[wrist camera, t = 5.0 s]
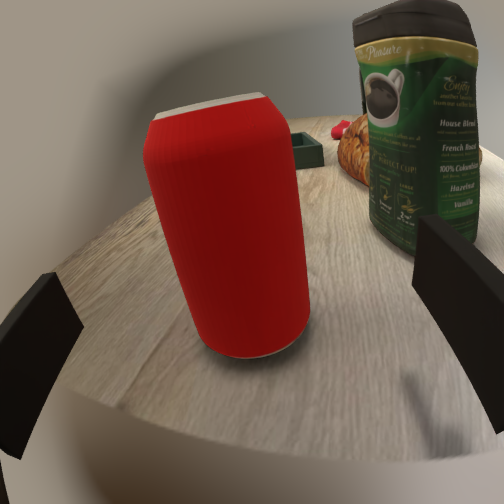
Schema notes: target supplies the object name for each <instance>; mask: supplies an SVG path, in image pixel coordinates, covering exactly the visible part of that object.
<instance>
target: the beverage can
mask: <svg viewBox="0 0 504 504" xmlns="http://www.w3.org/2000/svg"><path fill="white" fill-rule="evenodd" d="M143 161H144V165H145V169H146V173H147V177H148V180H149V184H150V187H151V191H152V195H153V198H154V202H155V205H156V208H157V212H158V215H159V219H160V222H161V225H162V228H163V232H164V235H165V238H166V241H167V244H168V247H169V251H170V254H171V257H172V260H173V263H174V266H175V269H176V272H177V275H178V278H179V281H180V283H181V286H182V289H183V292H184V295H185V298H186V301H187V303H188V306H189V309H190V312H191V314H192V317H193V320H194V323H195V325H196V328H197V331H198V333H199V335H200V337H201V339H202V340H203V341H204V343H205V344H206V345H207V346H209V347H210V348H211V349H213V350H214V351H216V352H218V353H221V354H223V355H226V356H230V357H234V358H242V359H252V358H260V357H265V356H269V355H272V354H274V353H277V352H279V351H281V350H283V349H285V348H286V347H288V346H289V345H291V344H292V343H293V342H294V341H296V340H297V339H298V338H299V336H300V335H301V334H302V332H303V331H304V329H305V327H306V325H307V322H308V319H309V315H310V301H309V288H308V277H307V266H306V256H305V246H304V236H303V227H302V218H301V209H300V201H299V192H298V184H297V177H296V169H295V162H294V154H293V147H292V140H291V133H290V129H289V126H288V124H287V122H286V120H285V118H284V117H283V115H282V114H281V113H280V111H279V110H278V109H277V108H276V106H275V105H274V104H273V103H272V102H271V100H270V99H269V98H268V97H267V96H264V95H262V94H261V93H260V92H257V93H250V94H244V95H238V96H232V97H227V98H222V99H216V100H211V101H207V102H202V103H198V104H193V105H189V106H185V107H181V108H177V109H173V110H169V111H165V112H162V113H158V114H156V117H155V118H154V120H152V121H151V122H150V126H149V130H148V133H147V137H146V140H145V144H144V149H143Z"/></svg>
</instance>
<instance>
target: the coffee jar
mask: <svg viewBox="0 0 504 504" xmlns="http://www.w3.org/2000/svg"><path fill="white" fill-rule="evenodd" d="M352 24H353V39H354V47H355V53H356V57H357V60H358V63H359V66H360V70H361V74H362V78H363V83H364V89H365V96H366V106H367V118H368V135H369V216H370V220H371V222H372V223H373V225H374V226H375V227H376V228H377V230H379V231H380V233H381V234H382V235H384V236H385V237H386V238H387V239H388V240H390V241H391V242H392V243H393V244H395V245H396V246H398V247H399V248H400V249H402V250H403V251H405V252H407V253H409V254H411V255H414V256H415V253H416V242H417V230H418V216H425V215H432V214H438V215H439V216H440V217H441V218H443V219H444V220H445V221H446V222H447V223H449V224H450V225H451V226H452V227H453V228H454V229H456V230H457V231H458V232H459V233H460V234H461V235H462V236H464V237H465V238H466V239H467V240H468V241H469V242H470V243H471V244H473V243H474V241H475V239H476V236H477V229H478V219H479V205H480V167H479V137H478V123H477V109H476V72H477V66H478V49H477V48H476V47H477V45H476V41H475V38H474V34H473V32H472V29H471V24H470V22H469V19H468V17H467V15H466V14H465V12H464V11H463V10H462V8H461V7H460V6H459V5H458V4H456V3H453V2H450V1H447V0H399V1H396V2H394V3H391V4H388V5H386V6H384V7H381V8H378V9H376V10H373V11H371V12H369V13H365V14H363V15H362V16H360V17H358V18H356V19H354V21H353V23H352Z"/></svg>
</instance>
